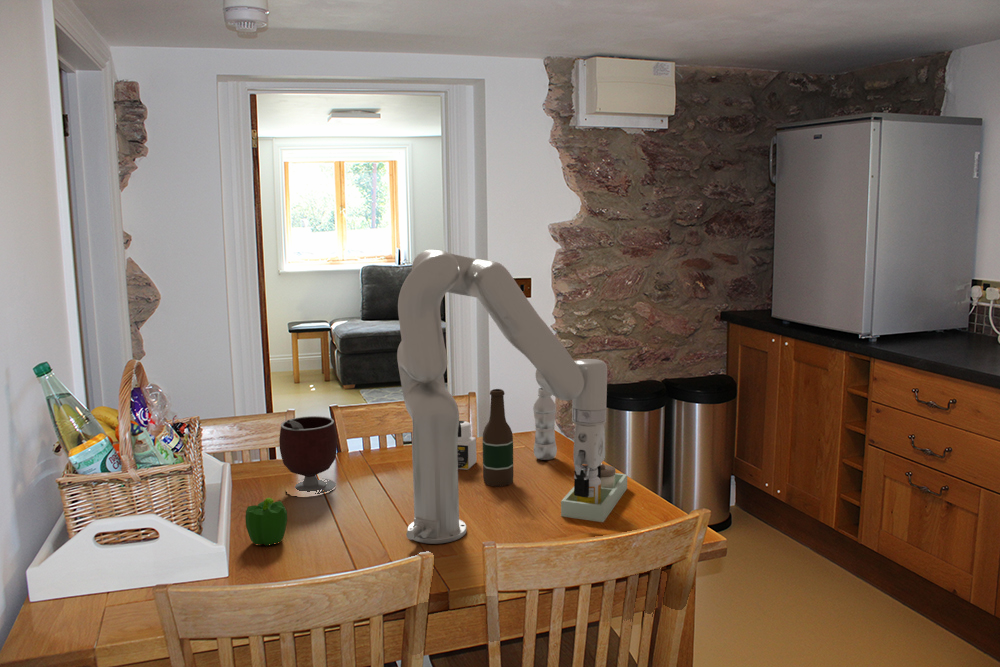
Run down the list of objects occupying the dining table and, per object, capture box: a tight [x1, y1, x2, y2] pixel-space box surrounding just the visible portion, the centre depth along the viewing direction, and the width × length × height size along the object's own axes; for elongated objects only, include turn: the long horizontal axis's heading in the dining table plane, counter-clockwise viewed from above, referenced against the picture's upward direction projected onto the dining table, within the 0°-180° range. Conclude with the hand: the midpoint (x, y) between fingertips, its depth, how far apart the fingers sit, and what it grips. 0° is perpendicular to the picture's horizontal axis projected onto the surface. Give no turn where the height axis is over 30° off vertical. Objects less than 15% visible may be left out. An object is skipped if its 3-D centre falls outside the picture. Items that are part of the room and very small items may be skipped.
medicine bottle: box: [457, 420, 478, 471], centre depth 206 cm, size 7×7×12 cm
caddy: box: [560, 472, 628, 523], centre depth 175 cm, size 22×10×4 cm, turn 157°
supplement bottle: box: [577, 468, 601, 505], centre depth 170 cm, size 5×5×10 cm
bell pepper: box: [244, 497, 288, 546], centre depth 157 cm, size 8×8×10 cm
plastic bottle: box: [532, 387, 558, 461], centre depth 209 cm, size 6×7×20 cm
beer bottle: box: [482, 388, 514, 488], centre depth 191 cm, size 8×8×24 cm
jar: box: [600, 463, 616, 489], centre depth 180 cm, size 6×6×7 cm
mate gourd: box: [278, 415, 338, 494], centre depth 187 cm, size 16×14×20 cm
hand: (587, 489), depth 170 cm, fingers open, 9 cm apart
